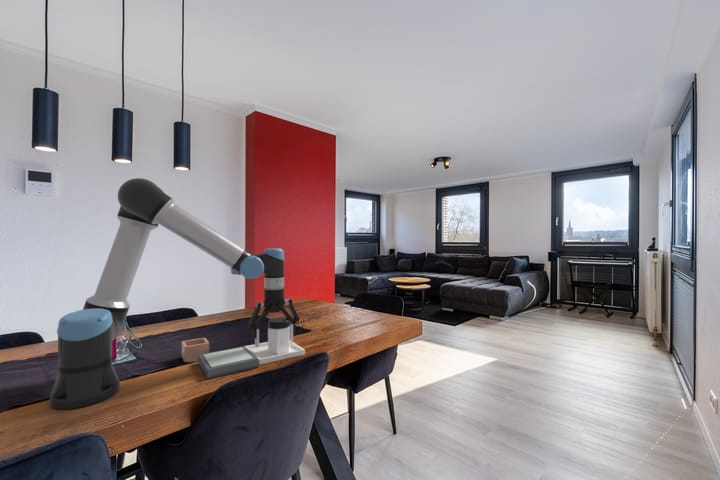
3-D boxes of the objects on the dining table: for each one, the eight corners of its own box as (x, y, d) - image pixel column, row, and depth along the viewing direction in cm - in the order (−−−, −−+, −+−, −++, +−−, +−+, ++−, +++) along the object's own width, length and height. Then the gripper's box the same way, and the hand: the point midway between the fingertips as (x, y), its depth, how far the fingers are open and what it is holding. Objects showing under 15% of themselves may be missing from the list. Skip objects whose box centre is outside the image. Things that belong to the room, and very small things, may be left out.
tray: (259, 364, 115) (259, 359, 115) (244, 350, 130) (244, 346, 130) (305, 354, 126) (305, 349, 126) (286, 342, 140) (286, 338, 140)
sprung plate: (211, 369, 105) (211, 366, 105) (203, 357, 116) (203, 354, 116) (253, 360, 113) (253, 357, 113) (241, 350, 124) (241, 347, 124)
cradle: (207, 379, 104) (207, 369, 104) (198, 363, 117) (198, 355, 117) (258, 367, 113) (258, 358, 113) (244, 354, 126) (244, 346, 126)
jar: (272, 355, 122) (271, 323, 122) (264, 349, 129) (264, 319, 129) (294, 351, 128) (294, 320, 128) (286, 345, 134) (285, 316, 134)
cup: (184, 364, 116) (184, 347, 116) (181, 357, 123) (181, 341, 122) (209, 359, 121) (209, 343, 121) (205, 353, 127) (205, 337, 127)
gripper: (244, 292, 117) (244, 352, 117) (307, 286, 132) (307, 339, 132) (238, 289, 123) (238, 346, 124) (299, 284, 138) (299, 335, 138)
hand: (274, 343), depth 128 cm, fingers open, 13 cm apart
